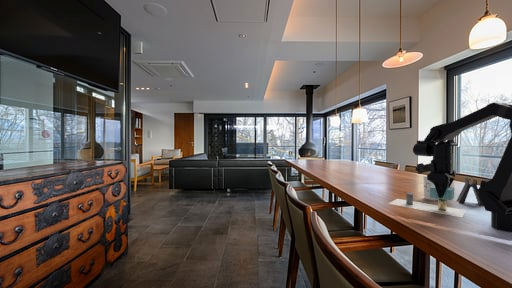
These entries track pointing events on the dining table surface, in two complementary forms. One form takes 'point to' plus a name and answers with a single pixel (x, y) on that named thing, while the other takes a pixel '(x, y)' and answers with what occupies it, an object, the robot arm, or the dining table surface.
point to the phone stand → (466, 189)
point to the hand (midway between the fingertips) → (442, 196)
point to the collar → (447, 196)
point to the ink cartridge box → (428, 189)
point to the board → (427, 206)
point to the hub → (442, 204)
